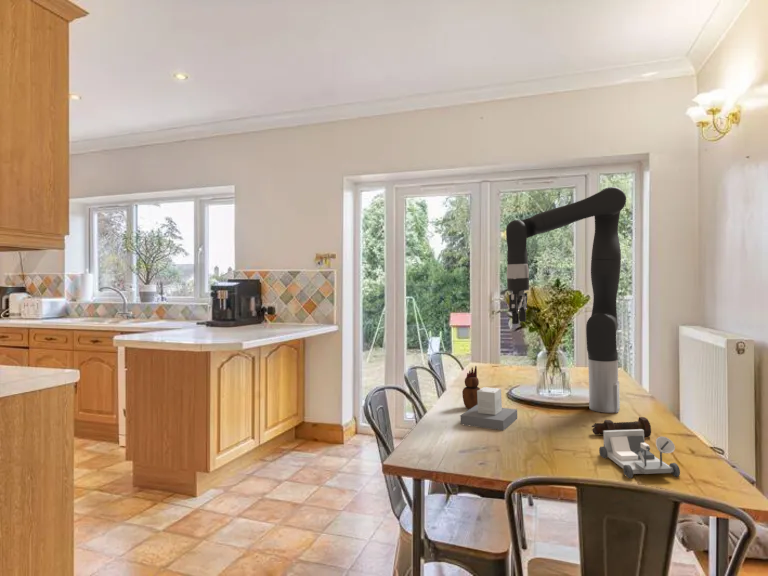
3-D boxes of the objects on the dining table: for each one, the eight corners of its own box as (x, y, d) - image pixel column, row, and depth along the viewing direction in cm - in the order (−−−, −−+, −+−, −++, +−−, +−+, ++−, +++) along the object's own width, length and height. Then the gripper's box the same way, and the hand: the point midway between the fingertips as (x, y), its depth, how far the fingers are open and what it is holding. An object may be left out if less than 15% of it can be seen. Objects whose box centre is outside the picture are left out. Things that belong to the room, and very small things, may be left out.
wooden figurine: (481, 405, 177) (480, 364, 177) (482, 410, 171) (481, 367, 171) (462, 405, 177) (461, 364, 177) (463, 410, 172) (462, 367, 171)
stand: (517, 418, 160) (517, 409, 160) (503, 430, 148) (503, 420, 148) (476, 413, 167) (476, 404, 167) (460, 424, 155) (460, 415, 155)
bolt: (593, 441, 142) (646, 439, 140) (597, 437, 137) (653, 435, 136) (588, 421, 144) (641, 419, 143) (593, 416, 140) (647, 414, 139)
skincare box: (502, 411, 158) (501, 388, 158) (495, 415, 153) (494, 392, 153) (484, 408, 162) (484, 386, 162) (477, 413, 157) (476, 390, 157)
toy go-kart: (686, 439, 108) (634, 441, 108) (687, 483, 108) (636, 485, 108) (642, 416, 126) (598, 418, 126) (643, 454, 126) (599, 456, 126)
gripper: (513, 277, 181) (514, 320, 181) (501, 277, 169) (502, 324, 169) (533, 276, 177) (535, 321, 177) (522, 277, 165) (524, 324, 165)
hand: (519, 322), depth 173 cm, fingers open, 8 cm apart
